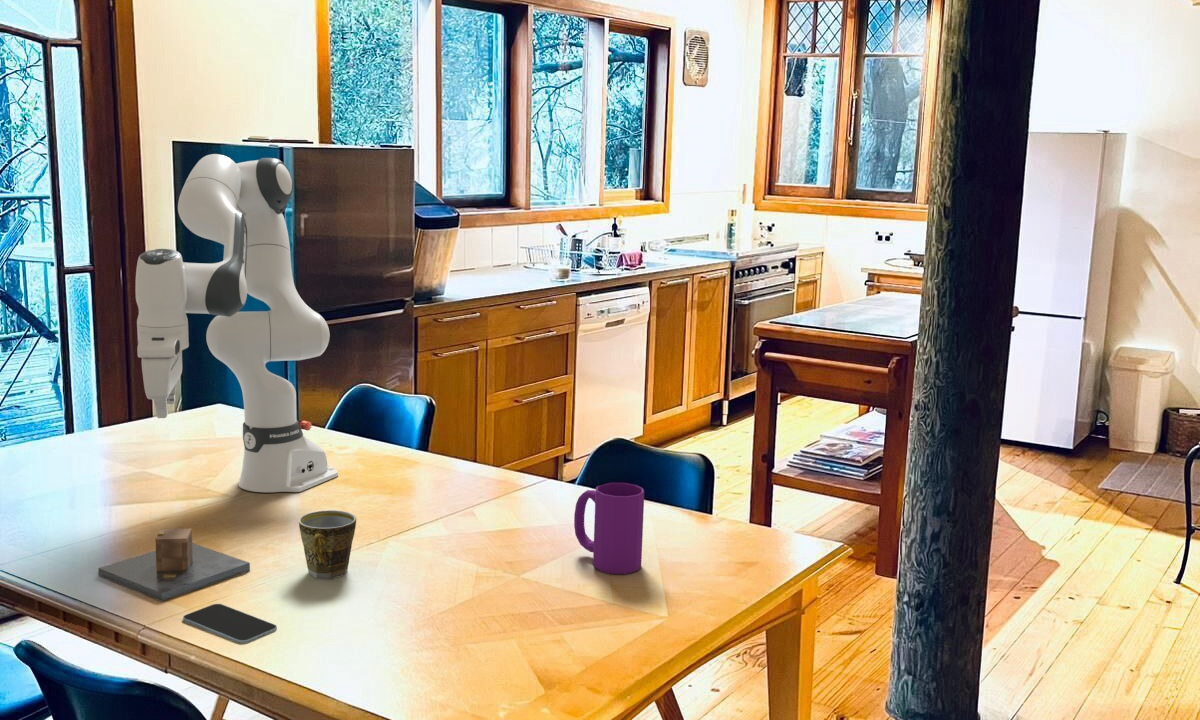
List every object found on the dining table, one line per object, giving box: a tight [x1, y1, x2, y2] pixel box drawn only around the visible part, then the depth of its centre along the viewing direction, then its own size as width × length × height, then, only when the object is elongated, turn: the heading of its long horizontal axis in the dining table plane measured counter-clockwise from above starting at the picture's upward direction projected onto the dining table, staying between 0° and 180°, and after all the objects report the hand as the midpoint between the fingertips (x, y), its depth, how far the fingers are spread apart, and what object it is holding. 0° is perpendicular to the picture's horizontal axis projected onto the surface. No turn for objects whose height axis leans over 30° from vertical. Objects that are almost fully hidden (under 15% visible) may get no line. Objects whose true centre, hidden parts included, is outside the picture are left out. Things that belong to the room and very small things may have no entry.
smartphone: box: [182, 603, 278, 645], centre depth 183 cm, size 7×1×15 cm
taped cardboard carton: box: [154, 528, 193, 571], centre depth 202 cm, size 5×5×6 cm
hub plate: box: [98, 542, 251, 602], centre depth 202 cm, size 18×18×6 cm
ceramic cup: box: [298, 509, 357, 580], centre depth 204 cm, size 13×10×10 cm
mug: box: [573, 482, 645, 575], centre depth 214 cm, size 9×16×15 cm, turn 47°
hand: (166, 410), depth 215 cm, fingers open, 8 cm apart
